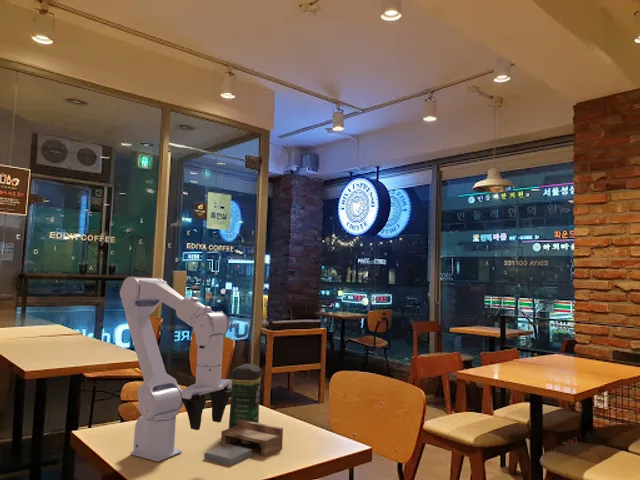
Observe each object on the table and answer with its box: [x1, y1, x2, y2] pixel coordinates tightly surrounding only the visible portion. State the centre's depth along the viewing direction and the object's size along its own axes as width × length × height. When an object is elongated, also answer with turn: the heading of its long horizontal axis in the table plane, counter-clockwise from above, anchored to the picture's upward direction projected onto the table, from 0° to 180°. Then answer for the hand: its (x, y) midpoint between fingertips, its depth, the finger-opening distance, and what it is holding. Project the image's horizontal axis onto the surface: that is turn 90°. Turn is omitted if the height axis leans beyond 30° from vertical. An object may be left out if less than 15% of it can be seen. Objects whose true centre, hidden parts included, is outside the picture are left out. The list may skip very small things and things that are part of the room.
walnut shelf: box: [220, 419, 284, 457], centre depth 127 cm, size 14×8×5 cm, turn 61°
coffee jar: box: [228, 363, 262, 429], centre depth 141 cm, size 10×8×19 cm
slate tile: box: [203, 443, 253, 467], centre depth 119 cm, size 8×8×2 cm
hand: (206, 425), depth 113 cm, fingers open, 7 cm apart
